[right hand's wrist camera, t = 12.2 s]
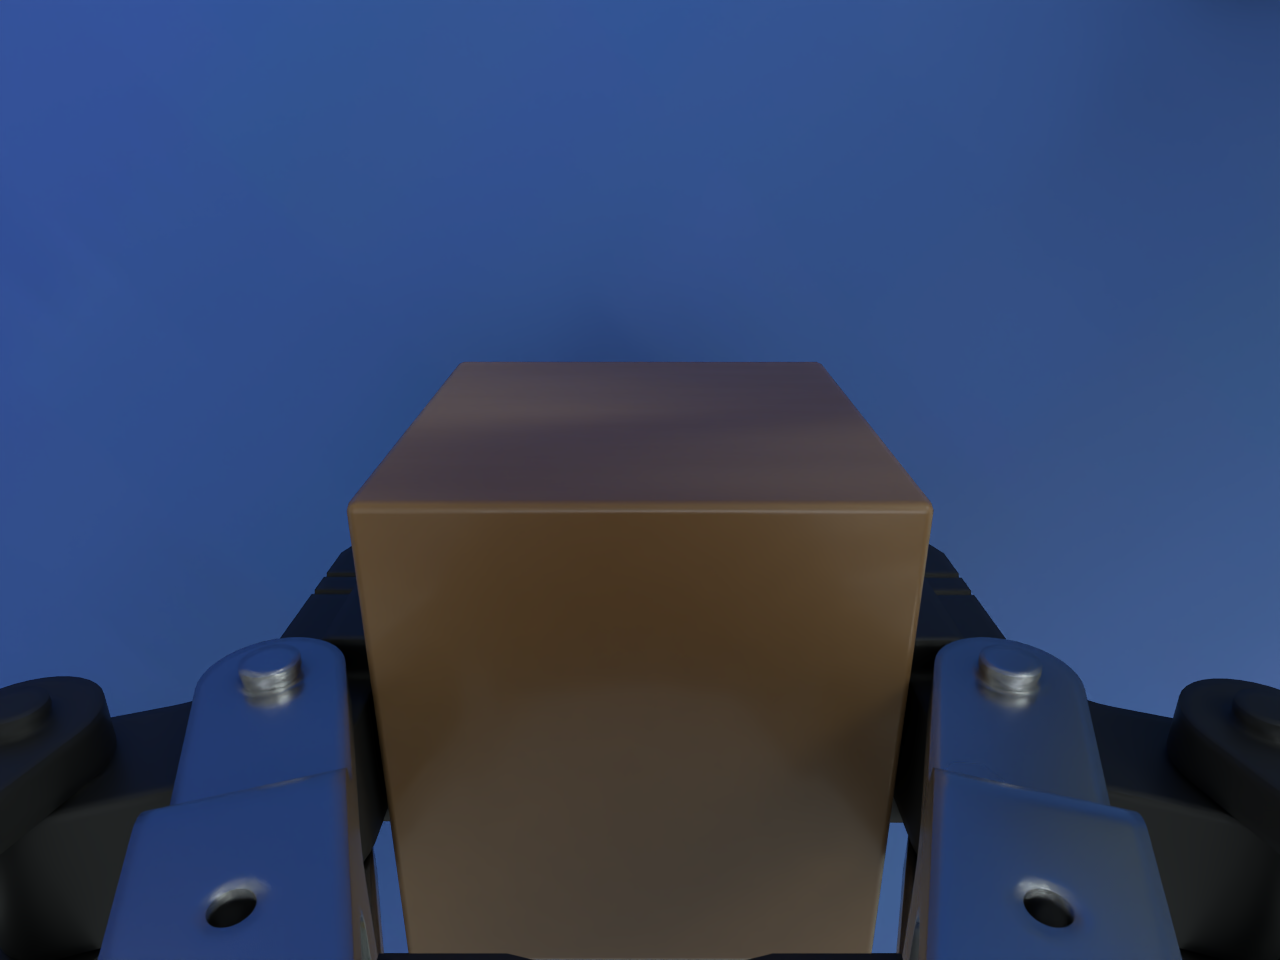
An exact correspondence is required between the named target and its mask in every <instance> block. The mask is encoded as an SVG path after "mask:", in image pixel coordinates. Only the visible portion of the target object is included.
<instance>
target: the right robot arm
mask: <svg viewBox="0 0 1280 960" xmlns="http://www.w3.org/2000/svg"><path fill="white" fill-rule="evenodd" d="M383 821H390V816H389V809H388V802H387V795H386V788H385V781H384V773H383V766H382V759H381V752H380V745H379V738H378V731H377V723H376V716H375V709H374V702H373V695H372V688H371V680H370V673H369V666H368V659H367V652H366V645H365V638H364V630H363V623H362V616H361V609H360V602H359V595H358V588H357V580H356V573H355V566H354V559H353V552H352V546H351V547H350V548H348V549H346V550H345V551H343V552H342V553H341V554H340V555H339V557H338V558H337V559H336V561H335V562H334V564H333V565H332V566H331V568H330V569H329V571H328V572H327V577H324V578H323V579H322V580H321V582H320V583H319V585H318V586H317V587H316V589H315V594H311V596H310V597H309V599H308V600H307V601H306V603H305V604H304V606H303V607H302V608H301V610H300V611H299V613H298V614H297V615H296V617H295V618H294V620H293V621H292V622H291V624H290V625H289V627H288V628H287V629H286V631H285V632H284V634H283V635H282V636H281V638H280V639H273V640H269V641H264V642H260V643H257V644H253V645H250V646H248V647H245V648H242V649H240V650H237V651H235V652H233V653H231V654H229V655H227V656H226V657H224V658H222V659H221V660H219V661H218V662H216V663H215V664H214V665H212V666H211V667H210V668H209V669H208V670H207V671H206V672H205V673H204V674H203V675H202V677H201V678H200V679H199V681H198V683H197V686H196V688H195V692H194V697H193V701H191V702H187V703H183V704H179V705H174V706H169V707H164V708H159V709H153V710H148V711H143V712H138V713H132V714H127V715H122V716H117V717H110V713H109V710H108V706H107V703H106V699H105V696H104V693H103V691H102V688H101V687H100V686H99V685H97V684H96V683H94V682H92V681H90V680H87V679H84V678H79V677H70V676H57V677H47V678H40V679H34V680H29V681H25V682H21V683H17V684H13V685H10V686H7V687H4V688H1V689H0V960H532V959H528V958H524V957H520V956H516V955H512V954H508V953H384V951H383V938H382V926H381V914H380V902H379V890H378V878H377V867H376V860H375V854H374V847H373V846H374V844H375V841H376V839H377V836H378V833H379V831H380V828H381V825H382V823H383ZM890 823H904V826H905V828H906V831H907V834H908V841H907V847H906V854H905V860H904V867H903V878H902V890H901V902H900V914H899V927H898V939H897V951H896V953H772V954H768V955H764V956H760V957H756V958H752V959H748V960H1280V690H1279V689H1276V688H1273V687H1269V686H1266V685H1262V684H1258V683H1254V682H1248V681H1242V680H1234V679H1206V680H1200V681H1197V682H1193V683H1191V684H1189V685H1187V686H1186V687H1185V688H1184V689H1183V690H1182V691H1181V694H1180V696H1179V699H1178V703H1177V706H1176V710H1175V713H1174V717H1173V718H1169V717H1164V716H1158V715H1153V714H1148V713H1143V712H1137V711H1132V710H1127V709H1122V708H1116V707H1111V706H1107V705H1103V704H1098V703H1095V702H1092V701H1088V700H1087V697H1086V692H1085V688H1084V685H1083V683H1082V681H1081V679H1080V678H1079V677H1078V675H1077V674H1076V673H1075V672H1074V671H1073V670H1072V669H1071V668H1070V667H1069V666H1068V665H1066V664H1065V663H1064V662H1062V661H1061V660H1059V659H1058V658H1056V657H1054V656H1053V655H1051V654H1049V653H1047V652H1045V651H1043V650H1040V649H1038V648H1035V647H1032V646H1030V645H1027V644H1023V643H1020V642H1016V641H1011V640H1007V639H1006V638H1005V637H1004V636H1003V634H1002V633H1001V632H1000V630H999V629H998V627H997V626H996V625H995V623H994V622H993V620H992V619H991V618H990V616H989V615H988V614H987V612H986V611H985V609H984V608H983V607H982V605H981V604H980V603H979V601H978V600H977V598H976V597H975V596H974V595H971V590H970V589H969V587H968V586H967V585H966V583H965V582H964V581H963V579H962V578H959V574H958V572H957V571H956V569H955V568H954V567H953V565H952V564H951V563H950V561H949V560H948V558H947V557H946V556H945V554H944V553H942V552H941V551H939V550H938V549H936V548H934V547H933V546H931V545H930V544H929V546H928V553H927V560H926V568H925V575H924V582H923V589H922V596H921V603H920V610H919V618H918V625H917V632H916V639H915V646H914V653H913V660H912V667H911V675H910V682H909V689H908V696H907V703H906V710H905V717H904V725H903V732H902V739H901V746H900V753H899V760H898V767H897V774H896V782H895V789H894V796H893V803H892V810H891V817H890Z"/></svg>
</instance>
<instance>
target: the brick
mask: <svg viewBox="0 0 1280 960" xmlns="http://www.w3.org/2000/svg"><path fill="white" fill-rule="evenodd" d="M933 511H934V510H933V507H932V504H931V502H930V501H929V500H928V498H927V497H926V496H925V494H924V493H923V492H922V491H921V489H920V488H919V487H918V486H917V484H916V483H915V482H914V481H913V479H912V478H911V477H910V476H909V474H908V473H907V472H906V470H905V469H904V468H903V467H902V465H901V464H900V463H899V462H898V460H897V459H896V458H895V457H894V455H893V454H892V453H891V452H890V450H889V449H888V448H887V447H886V445H885V444H884V443H883V441H882V440H881V439H880V438H879V436H878V435H877V434H876V433H875V431H874V430H873V429H872V428H871V426H870V425H869V424H868V423H867V421H866V420H865V419H864V417H863V416H862V415H861V414H860V412H859V411H858V410H857V409H856V407H855V406H854V405H853V404H852V402H851V401H850V400H849V399H848V397H847V396H846V395H845V393H844V392H843V391H842V390H841V388H840V387H839V386H838V385H837V383H836V382H835V381H834V380H833V378H832V377H831V376H830V375H829V373H828V372H827V371H826V369H825V368H824V367H823V366H822V364H820V363H817V362H463V363H461V364H459V365H458V366H457V368H456V369H455V370H454V371H453V373H452V374H451V375H450V376H449V378H448V379H447V380H446V381H445V383H444V384H443V385H442V386H441V388H440V389H439V390H438V392H437V393H436V394H435V395H434V397H433V398H432V399H431V400H430V402H429V403H428V404H427V405H426V407H425V408H424V409H423V410H422V412H421V413H420V414H419V415H418V417H417V418H416V419H415V420H414V422H413V423H412V424H411V425H410V427H409V428H408V429H407V430H406V432H405V433H404V434H403V435H402V437H401V438H400V439H399V441H398V442H397V443H396V444H395V446H394V447H393V448H392V449H391V451H390V452H389V453H388V454H387V456H386V457H385V458H384V459H383V461H382V462H381V463H380V464H379V466H378V467H377V468H376V469H375V471H374V472H373V473H372V474H371V476H370V477H369V478H368V479H367V481H366V482H365V483H364V484H363V486H362V487H361V488H360V490H359V491H358V492H357V493H356V495H355V496H354V497H353V498H352V500H351V501H350V502H349V504H348V507H347V516H348V523H349V530H350V537H351V545H352V552H353V559H354V566H355V573H356V580H357V588H358V595H359V602H360V609H361V616H362V623H363V630H364V638H365V645H366V652H367V659H368V666H369V673H370V680H371V688H372V695H373V702H374V709H375V716H376V723H377V731H378V738H379V745H380V752H381V759H382V766H383V773H384V781H385V788H386V795H387V802H388V809H389V816H390V823H391V831H392V838H393V845H394V852H395V859H396V866H397V874H398V881H399V888H400V895H401V902H402V909H403V916H404V924H405V931H406V938H407V945H408V952H409V953H508V954H512V955H516V956H520V957H524V958H528V959H532V960H748V959H752V958H756V957H760V956H764V955H768V954H772V953H871V952H872V946H873V939H874V931H875V924H876V917H877V910H878V903H879V896H880V889H881V881H882V874H883V867H884V860H885V853H886V846H887V839H888V832H889V824H890V817H891V810H892V803H893V796H894V789H895V782H896V774H897V767H898V760H899V753H900V746H901V739H902V732H903V725H904V717H905V710H906V703H907V696H908V689H909V682H910V675H911V667H912V660H913V653H914V646H915V639H916V632H917V625H918V618H919V610H920V603H921V596H922V589H923V582H924V575H925V568H926V560H927V553H928V546H929V539H930V532H931V525H932V518H933Z"/></svg>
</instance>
